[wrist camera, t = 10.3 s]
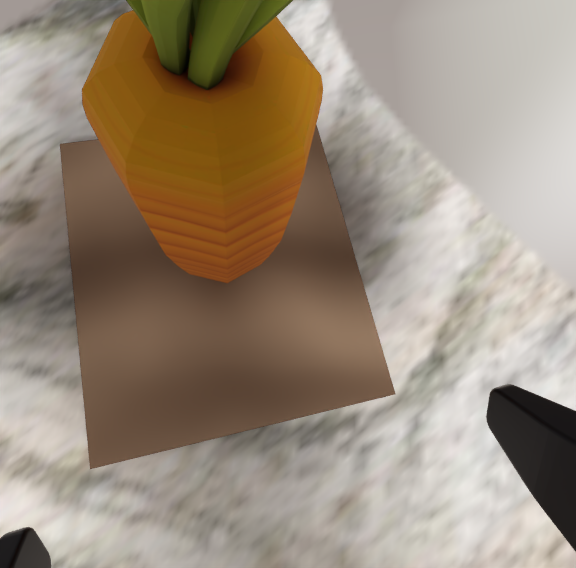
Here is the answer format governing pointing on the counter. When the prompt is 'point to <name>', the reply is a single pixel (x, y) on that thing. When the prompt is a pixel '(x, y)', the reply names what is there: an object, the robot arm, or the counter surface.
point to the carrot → (206, 125)
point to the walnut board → (211, 321)
